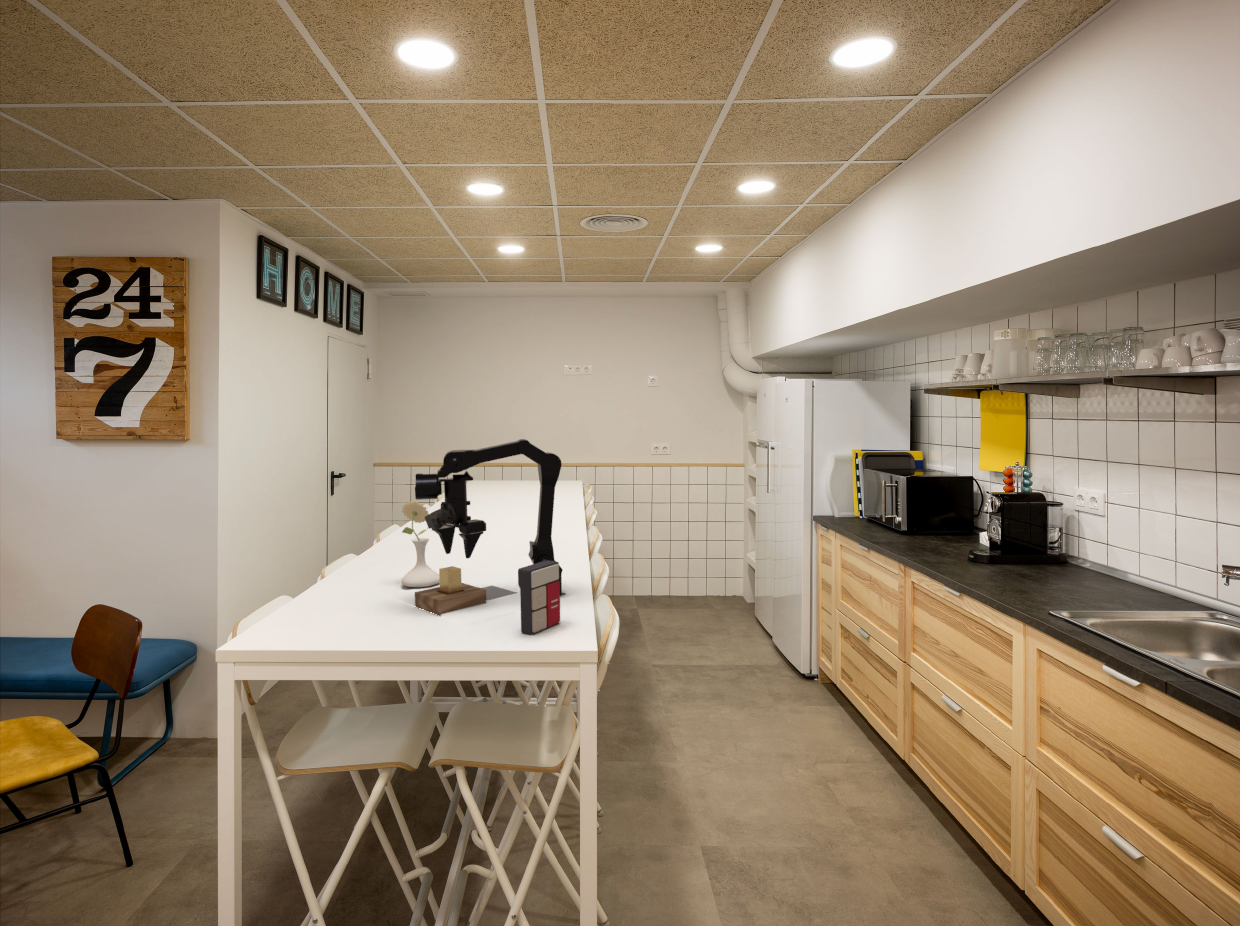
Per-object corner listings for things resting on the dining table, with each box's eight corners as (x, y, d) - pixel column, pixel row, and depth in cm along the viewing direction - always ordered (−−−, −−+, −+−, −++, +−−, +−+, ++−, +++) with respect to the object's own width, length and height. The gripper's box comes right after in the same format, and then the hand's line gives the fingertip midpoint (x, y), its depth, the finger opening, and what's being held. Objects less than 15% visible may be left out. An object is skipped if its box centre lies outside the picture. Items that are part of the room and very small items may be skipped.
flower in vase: (449, 584, 204) (447, 500, 203) (419, 592, 195) (417, 505, 193) (419, 578, 211) (417, 498, 210) (389, 586, 202) (386, 502, 200)
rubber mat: (517, 594, 192) (517, 592, 192) (482, 603, 183) (481, 601, 183) (492, 587, 200) (492, 585, 200) (456, 595, 192) (456, 593, 191)
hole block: (486, 604, 182) (486, 589, 182) (440, 616, 172) (439, 600, 172) (460, 596, 190) (460, 582, 190) (415, 607, 180) (414, 592, 180)
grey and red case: (533, 635, 156) (532, 570, 155) (518, 632, 158) (517, 568, 157) (562, 623, 165) (561, 561, 164) (548, 620, 168) (547, 559, 167)
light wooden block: (461, 605, 181) (460, 568, 180) (448, 609, 178) (447, 571, 177) (453, 603, 184) (452, 566, 183) (440, 606, 181) (439, 568, 180)
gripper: (409, 498, 182) (412, 556, 184) (449, 503, 170) (452, 566, 171) (445, 494, 191) (448, 549, 192) (486, 499, 178) (488, 558, 179)
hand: (457, 555), depth 183 cm, fingers open, 9 cm apart
